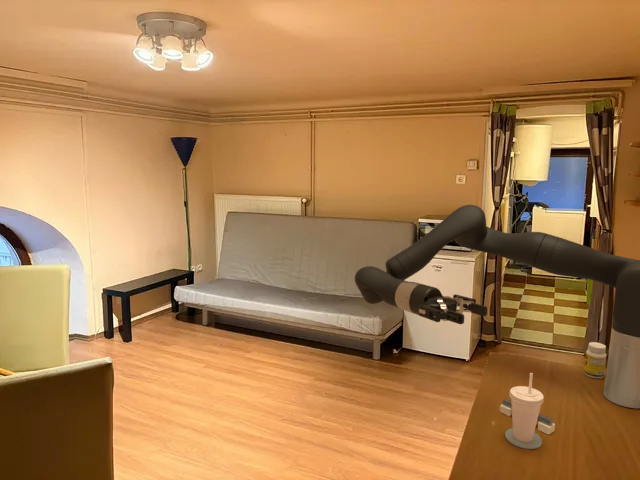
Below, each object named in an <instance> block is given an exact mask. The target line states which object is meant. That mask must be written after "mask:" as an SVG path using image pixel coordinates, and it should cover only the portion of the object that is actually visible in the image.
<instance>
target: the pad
mask: <svg viewBox="0 0 640 480" xmlns="http://www.w3.org/2000/svg"><path fill="white" fill-rule="evenodd" d="M504 436H505V439H506V440H507V441H508V443H510V444H512V445H513V446H515V447H518V448H520V449H524V450H535V449H536V450H537V449H539V448H540V447H542V443H543V439H542V437H541V436H540V434H538V433H536V432H535V431H534V435H533V439H532V441H530V442H523V441H519V440H517V439H516V438H515V437H514V436H513V427H511V428H508V429H507V430H506V431H505V433H504Z"/></svg>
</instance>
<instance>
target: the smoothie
mask: <svg viewBox="0 0 640 480" xmlns="http://www.w3.org/2000/svg"><path fill="white" fill-rule="evenodd" d="M533 377H534V373H533V372H529V379H528V380H529V381H528V386H525V385H523V386H522V385H518V386H513V387H512V388H510V390H509V398H511V399H510V400H511V403H512V415H511V416H512V419H511V420H512V428H513V436H514V437H515V438H516V439H517V440H519V441H523V442H530V441H532V439H533V435H534V432H535V430H536V426H537V424H538V421H537V419H538V415H539V413H540V410H541V407H542V404H543V403H544V394H543V393H542V392H541V391H540V390H538V389H536V388H533Z"/></svg>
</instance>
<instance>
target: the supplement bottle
mask: <svg viewBox="0 0 640 480" xmlns="http://www.w3.org/2000/svg"><path fill="white" fill-rule="evenodd" d="M606 350H607V346H606V345H605V344H604V343H600V342H595V341H594V342H593V341H591V342H589V343H588V346H587V349H586V351H585V360H584V367H583V374H584V375H585V376H587V377H588V378H593V379H598V378H599V379H603V378H604V377H605V373H606V372H605V371H606V362H607V353H606Z"/></svg>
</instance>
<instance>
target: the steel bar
mask: <svg viewBox="0 0 640 480" xmlns="http://www.w3.org/2000/svg"><path fill="white" fill-rule="evenodd" d="M502 404H503V405H504V406H506V407H508V408H511V409H512V403H511V399H510V398H509V399H508V398H504V399H502ZM537 422H538V423H539V422H541V423H544V424H546V425H548V426H551V425H553V423H554V418H552V417H549V416H547V415H544V414H543V413H540V412H539V415H538V419H537Z"/></svg>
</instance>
